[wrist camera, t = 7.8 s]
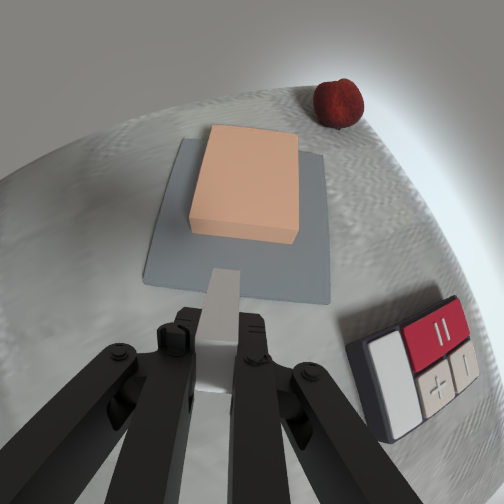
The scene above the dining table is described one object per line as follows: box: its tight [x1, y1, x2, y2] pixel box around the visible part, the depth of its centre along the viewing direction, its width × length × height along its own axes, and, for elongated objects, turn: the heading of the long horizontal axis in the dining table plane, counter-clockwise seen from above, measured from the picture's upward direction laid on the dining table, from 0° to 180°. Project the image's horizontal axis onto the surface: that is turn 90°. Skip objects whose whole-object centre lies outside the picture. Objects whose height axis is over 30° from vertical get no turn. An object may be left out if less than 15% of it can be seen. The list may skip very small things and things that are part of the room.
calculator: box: [346, 295, 479, 444], centre depth 23 cm, size 11×4×15 cm
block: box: [189, 125, 299, 244], centre depth 29 cm, size 10×3×13 cm
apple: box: [313, 79, 364, 130], centre depth 34 cm, size 7×8×8 cm
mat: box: [143, 139, 330, 305], centre depth 30 cm, size 18×19×1 cm
